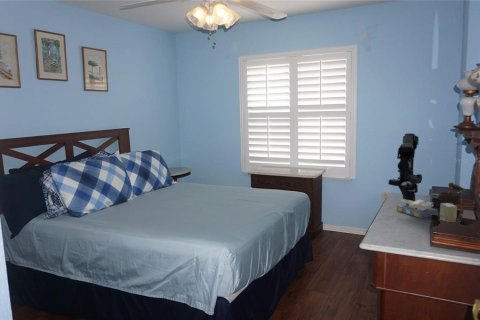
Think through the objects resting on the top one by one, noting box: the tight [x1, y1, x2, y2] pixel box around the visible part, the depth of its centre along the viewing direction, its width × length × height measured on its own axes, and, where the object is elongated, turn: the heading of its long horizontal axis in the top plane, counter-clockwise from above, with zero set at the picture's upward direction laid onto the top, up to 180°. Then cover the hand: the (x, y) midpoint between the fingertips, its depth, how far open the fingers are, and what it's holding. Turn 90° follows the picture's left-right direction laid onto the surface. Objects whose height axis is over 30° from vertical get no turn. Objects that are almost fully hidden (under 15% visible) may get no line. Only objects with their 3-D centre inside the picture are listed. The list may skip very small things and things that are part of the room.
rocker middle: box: [409, 198, 426, 209], centre depth 196 cm, size 4×8×2 cm, turn 112°
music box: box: [431, 182, 468, 218], centre depth 179 cm, size 15×11×20 cm
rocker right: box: [417, 201, 434, 211], centre depth 191 cm, size 4×8×2 cm, turn 112°
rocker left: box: [400, 198, 416, 204], centre depth 201 cm, size 4×8×2 cm, turn 112°
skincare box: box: [439, 203, 458, 222], centre depth 167 cm, size 6×4×12 cm
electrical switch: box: [430, 193, 447, 212], centre depth 200 cm, size 9×5×9 cm, turn 57°
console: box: [396, 203, 438, 219], centre depth 196 cm, size 16×12×4 cm
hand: (404, 196), depth 199 cm, fingers closed
